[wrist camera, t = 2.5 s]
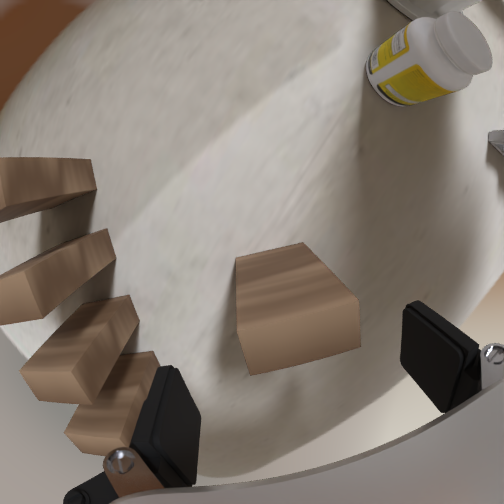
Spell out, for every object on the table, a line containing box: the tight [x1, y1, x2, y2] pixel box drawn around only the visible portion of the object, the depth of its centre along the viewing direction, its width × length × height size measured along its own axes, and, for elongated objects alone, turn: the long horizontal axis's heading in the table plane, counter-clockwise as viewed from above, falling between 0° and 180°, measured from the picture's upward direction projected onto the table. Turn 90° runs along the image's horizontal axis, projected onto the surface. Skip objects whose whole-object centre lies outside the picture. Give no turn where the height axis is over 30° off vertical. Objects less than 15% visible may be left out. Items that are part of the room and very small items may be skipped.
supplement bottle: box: [366, 11, 492, 106], centre depth 12 cm, size 5×5×10 cm
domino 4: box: [64, 351, 161, 456], centre depth 17 cm, size 2×5×10 cm, turn 102°
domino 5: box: [236, 242, 361, 376], centre depth 16 cm, size 2×5×10 cm, turn 102°
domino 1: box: [0, 157, 97, 223], centre depth 13 cm, size 2×5×10 cm, turn 103°
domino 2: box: [0, 229, 116, 325], centre depth 14 cm, size 2×5×10 cm, turn 102°
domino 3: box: [19, 295, 140, 405], centre depth 16 cm, size 2×5×10 cm, turn 102°
